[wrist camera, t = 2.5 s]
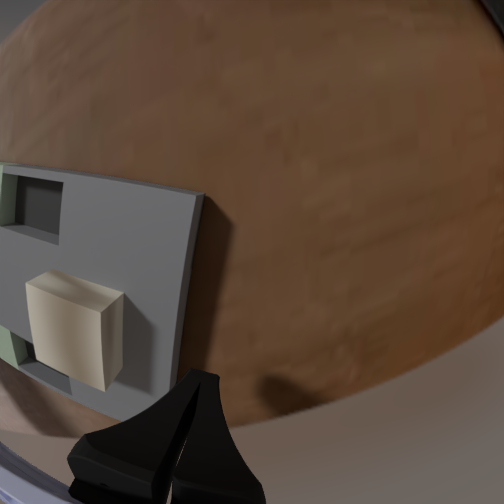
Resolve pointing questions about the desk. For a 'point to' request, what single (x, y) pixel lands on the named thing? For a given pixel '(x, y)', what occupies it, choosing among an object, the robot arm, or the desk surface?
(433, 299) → the desk surface
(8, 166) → the board
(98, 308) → the cream block
